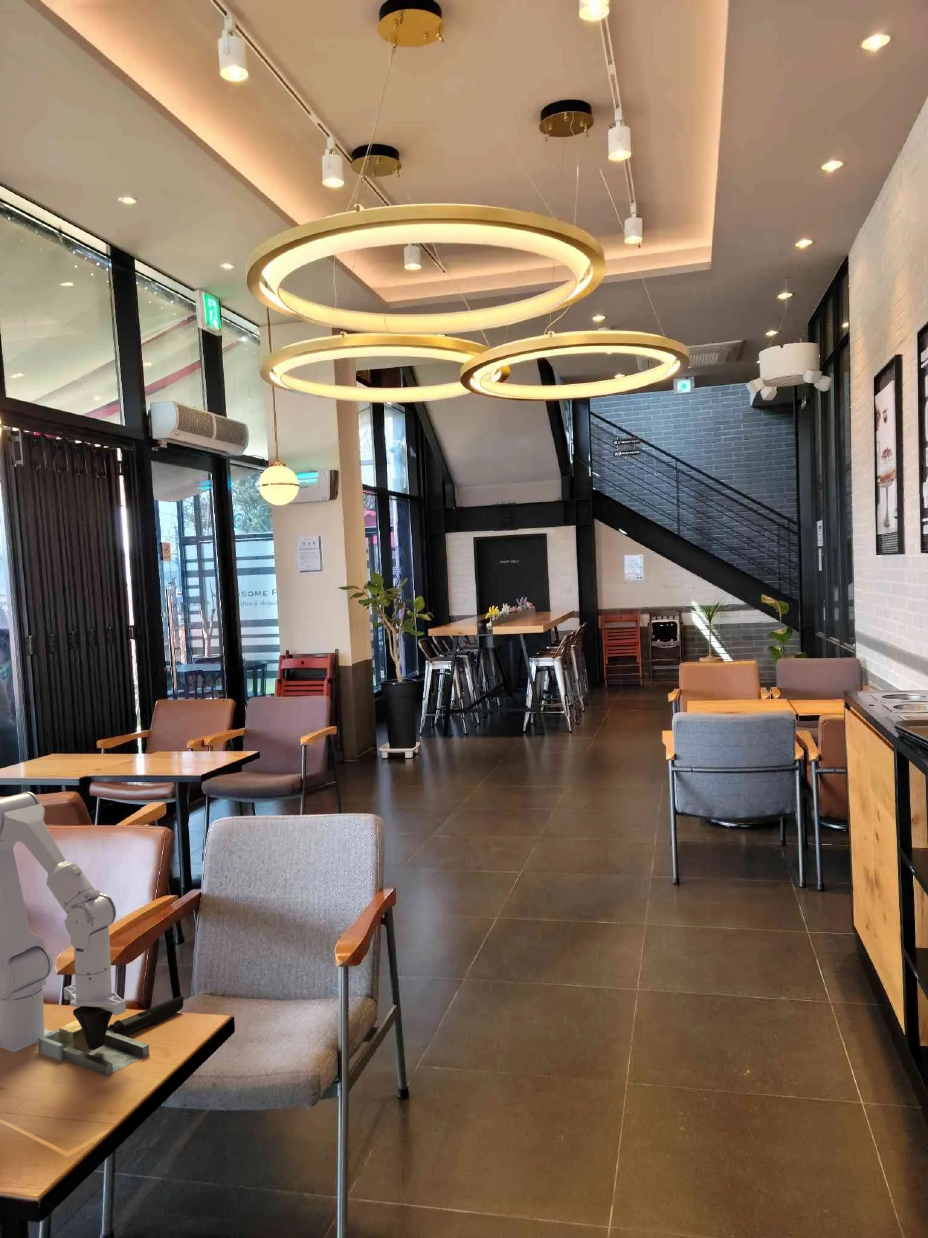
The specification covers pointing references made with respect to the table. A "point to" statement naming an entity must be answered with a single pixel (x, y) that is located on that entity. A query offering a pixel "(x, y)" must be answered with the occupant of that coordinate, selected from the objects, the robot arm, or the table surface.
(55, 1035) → the tray
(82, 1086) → the table surface
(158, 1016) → the electric trimmer
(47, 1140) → the table surface
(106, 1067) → the slot bed
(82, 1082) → the table surface
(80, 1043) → the yellow cube
